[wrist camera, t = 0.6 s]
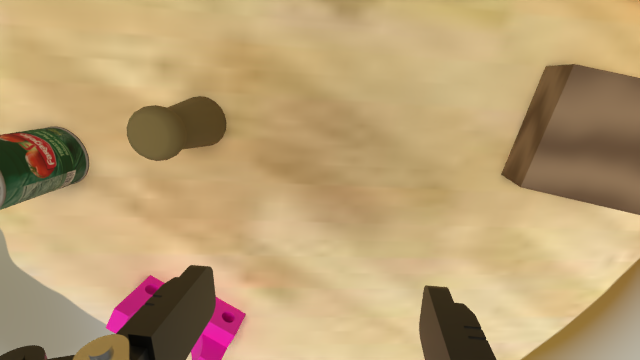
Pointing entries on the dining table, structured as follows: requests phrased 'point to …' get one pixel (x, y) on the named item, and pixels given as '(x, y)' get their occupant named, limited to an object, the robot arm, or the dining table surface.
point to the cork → (175, 128)
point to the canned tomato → (39, 163)
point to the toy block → (211, 339)
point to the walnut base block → (581, 138)
